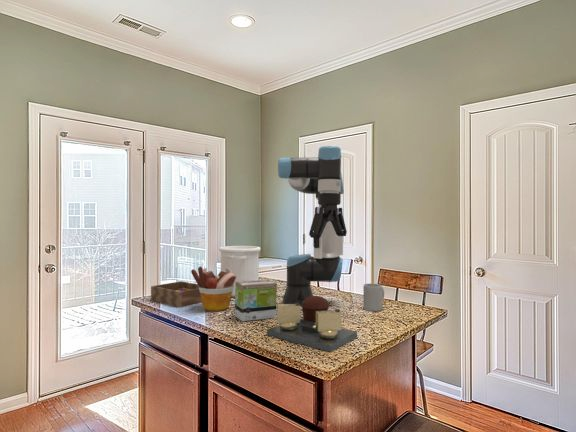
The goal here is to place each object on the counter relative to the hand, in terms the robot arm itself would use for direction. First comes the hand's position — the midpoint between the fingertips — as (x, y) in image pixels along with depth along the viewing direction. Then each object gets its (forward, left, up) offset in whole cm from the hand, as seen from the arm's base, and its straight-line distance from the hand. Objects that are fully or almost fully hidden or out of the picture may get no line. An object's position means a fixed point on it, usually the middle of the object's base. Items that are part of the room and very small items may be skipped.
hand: (328, 256), depth 124 cm
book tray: (-89, +7, -29) cm, 94 cm away
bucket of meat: (-64, +7, -29) cm, 71 cm away
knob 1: (-16, -1, -26) cm, 31 cm away
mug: (-7, +53, -29) cm, 61 cm away
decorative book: (-89, +7, -29) cm, 94 cm away
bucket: (-78, +37, -29) cm, 91 cm away
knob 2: (0, 0, -26) cm, 26 cm away
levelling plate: (-8, +2, -29) cm, 30 cm away
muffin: (-17, +18, -29) cm, 38 cm away
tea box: (-40, +8, -29) cm, 50 cm away
